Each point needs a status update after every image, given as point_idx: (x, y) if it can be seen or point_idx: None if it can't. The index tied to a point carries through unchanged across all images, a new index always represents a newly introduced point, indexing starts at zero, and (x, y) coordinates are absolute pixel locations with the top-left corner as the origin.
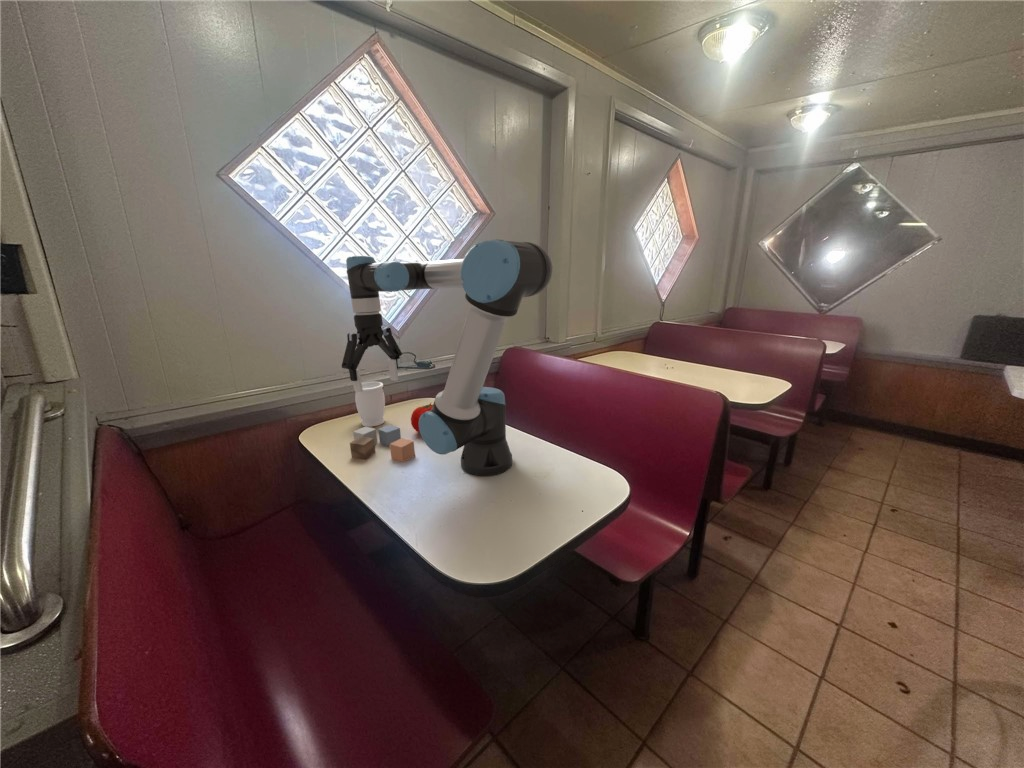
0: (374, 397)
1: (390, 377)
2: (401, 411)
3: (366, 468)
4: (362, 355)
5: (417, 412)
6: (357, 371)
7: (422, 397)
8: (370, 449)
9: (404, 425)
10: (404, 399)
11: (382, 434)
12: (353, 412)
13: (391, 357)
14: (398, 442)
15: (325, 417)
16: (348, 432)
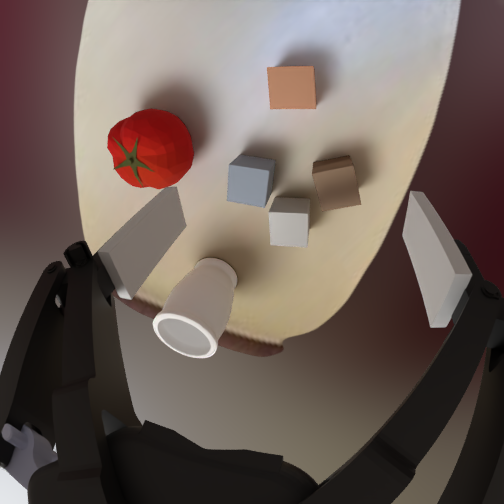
0: (196, 300)
1: (180, 229)
2: None
3: (378, 122)
4: (429, 375)
5: (164, 161)
6: (467, 266)
7: None
8: (329, 163)
9: None
10: None
11: (268, 187)
12: None
13: (106, 290)
14: (296, 94)
15: (252, 348)
16: (272, 283)
